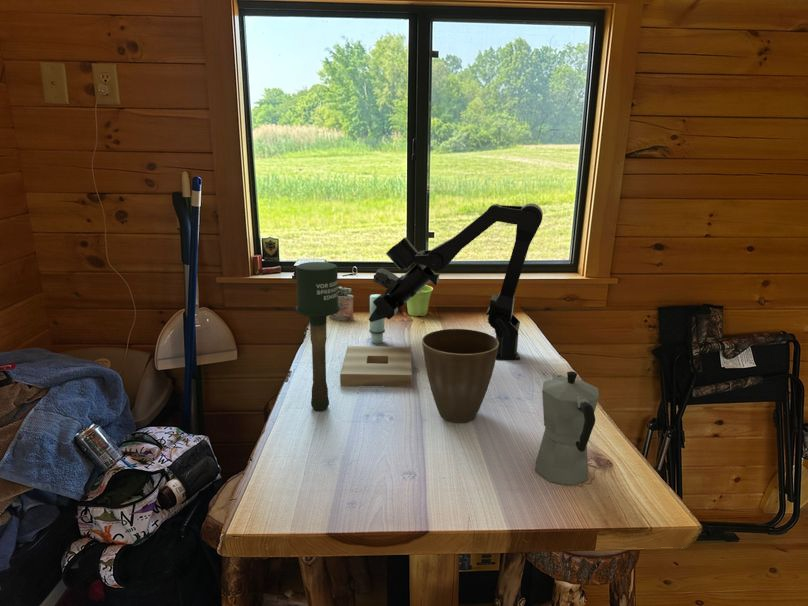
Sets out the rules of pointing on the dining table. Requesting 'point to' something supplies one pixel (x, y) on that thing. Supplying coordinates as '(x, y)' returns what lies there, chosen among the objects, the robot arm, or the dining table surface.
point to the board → (376, 366)
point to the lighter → (344, 305)
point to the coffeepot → (566, 429)
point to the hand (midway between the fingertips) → (372, 318)
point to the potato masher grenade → (318, 318)
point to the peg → (376, 323)
